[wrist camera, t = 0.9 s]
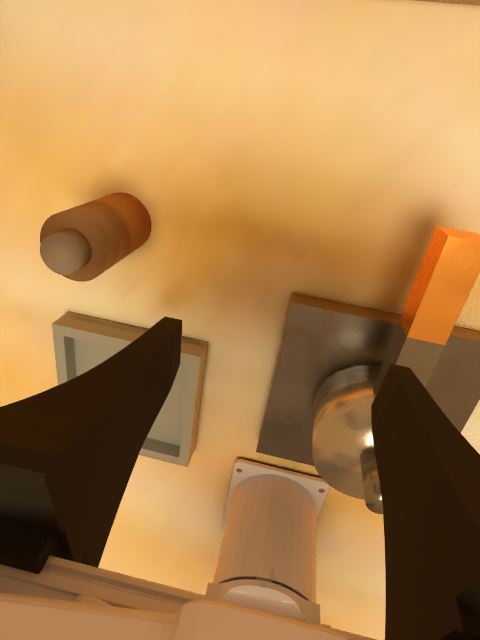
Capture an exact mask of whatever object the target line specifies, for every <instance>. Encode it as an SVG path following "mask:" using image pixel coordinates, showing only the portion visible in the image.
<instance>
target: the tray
mask: <svg viewBox="0 0 480 640" xmlns="http://www.w3.org/2000/svg"><path fill="white" fill-rule="evenodd" d="M52 328H53V338H54V348H55V358H56V369H57V379H58V385H60V384H62V383H64V382H67V381H69V380H71V379H73V378H75V377H77V376H79V375H81V374H83V373H85V372H87V371H88V370H90V369H92V368H94V367H95V366H97V365H99V364H100V363H102V362H104V361H105V360H107V359H108V358H110V357H111V356H113V355H114V354H116V353H117V352H119V351H120V350H122V349H123V348H125V347H126V346H127V345H129V344H130V343H131V342H133V341H134V340H136V339H137V338H138V337H140V336H141V335H142V334H143V333H145V332H146V331H147V330H149V329H145V328H140V327H136V326H131V325H127V324H122V323H118V322H113V321H109V320H104V319H100V318H95V317H90V316H86V315H81V314H77V313H72V312H67V313H66V314H64V315H63V316H62V317H60V318H59V319H58V320H56V321H55V322H54V323H52ZM207 346H208V342H204V341H200V340H195V339H191V338H186V337H181V359H180V366H179V369H178V372H177V375H176V378H175V380H174V383H173V386H172V388H171V390H170V392H169V394H168V396H167V398H166V400H165V402H164V404H163V406H162V408H161V410H160V412H159V414H158V416H157V418H156V420H155V422H154V424H153V426H152V428H151V430H150V432H149V434H148V435H147V437H146V439H145V441H144V444H143V446H142V448H141V450H140V452H139V455H142V456H146V457H150V458H154V459H158V460H162V461H166V462H170V463H174V464H178V465H182V466H186V467H188V465H189V463H190V460H191V457H192V454H193V452H194V449H195V442H196V434H197V426H198V418H199V410H200V402H201V394H202V386H203V378H204V370H205V362H206V354H207Z"/></svg>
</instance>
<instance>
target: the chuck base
mask: <svg viewBox="0 0 480 640" xmlns="http://www.w3.org/2000/svg"><path fill="white" fill-rule="evenodd" d="M401 316H402V315H398V314H393V313H388V312H383V311H378V310H373V309H368V308H363V307H358V306H354V305H349V304H344V303H339V302H334V301H329V300H324V299H319V298H315V297H310V296H305V295H300V294H295V293H292V296H291V300H290V304H289V309H288V313H287V317H286V322H285V326H284V330H283V335H282V339H281V343H280V348H279V352H278V356H277V361H276V365H275V369H274V374H273V378H272V382H271V387H270V391H269V395H268V400H267V404H266V408H265V413H264V417H263V421H262V426H261V430H260V434H259V439H258V444H257V450H256V452H259V453H263V454H267V455H271V456H275V457H279V458H284V459H288V460H292V461H296V462H300V463H304V464H308V465H312V466H315V465H314V462H313V456H312V451H313V400H314V396H315V394H316V392H317V390H318V388H319V387H320V385H321V384H322V383H323V382H324V381H325V380H326V379H327V378H328V377H330V376H331V375H333V374H334V373H336V372H338V371H341V370H343V369H346V368H349V367H353V366H360V365H374V366H381V367H382V364H383V362H384V359H385V357H386V354H387V351H388V349H389V346H390V344H391V341H392V339H393V336H394V334H395V331H396V328H397V326H398V323H399V321H400V318H401ZM425 389H426V390H427V391H428V393H429V394H430V395H431V397H432V398H433V399H434V401H435V402H436V403H437V405H438V406H439V407H440V409H441V410H442V411H443V412H444V414H445V415H446V416H447V418H448V419H449V420H450V421H451V422H452V424H453V425H454V426H455V427H456V429H457V430H458V431H459V432H460V433H461V431H462V429H463V428H464V426H465V424H466V422H467V421H468V419H469V417H470V415H471V414H472V412H473V410H474V408H475V407H476V405H477V403H478V401H479V399H480V331H476V330H471V329H466V328H461V327H456V326H454V327H453V329H452V331H451V334H450V336H449V338H448V340H447V342H446V344H445V346H444V348H443V351H442V353H441V355H440V357H439V359H438V361H437V363H436V365H435V368H434V370H433V372H432V374H431V376H430V378H429V380H428V382H427V385H426V387H425Z"/></svg>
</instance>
